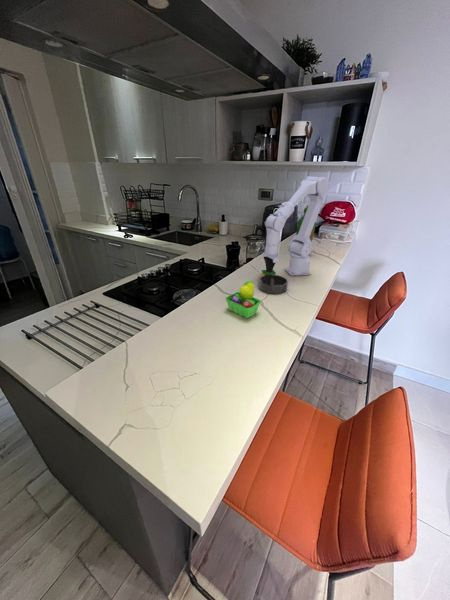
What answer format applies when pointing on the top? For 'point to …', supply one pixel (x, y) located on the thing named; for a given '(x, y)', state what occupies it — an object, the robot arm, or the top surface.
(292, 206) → the robot arm
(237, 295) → the fruit basket
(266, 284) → the pan
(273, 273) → the sponge
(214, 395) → the top surface
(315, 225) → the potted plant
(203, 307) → the top surface
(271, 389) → the top surface
